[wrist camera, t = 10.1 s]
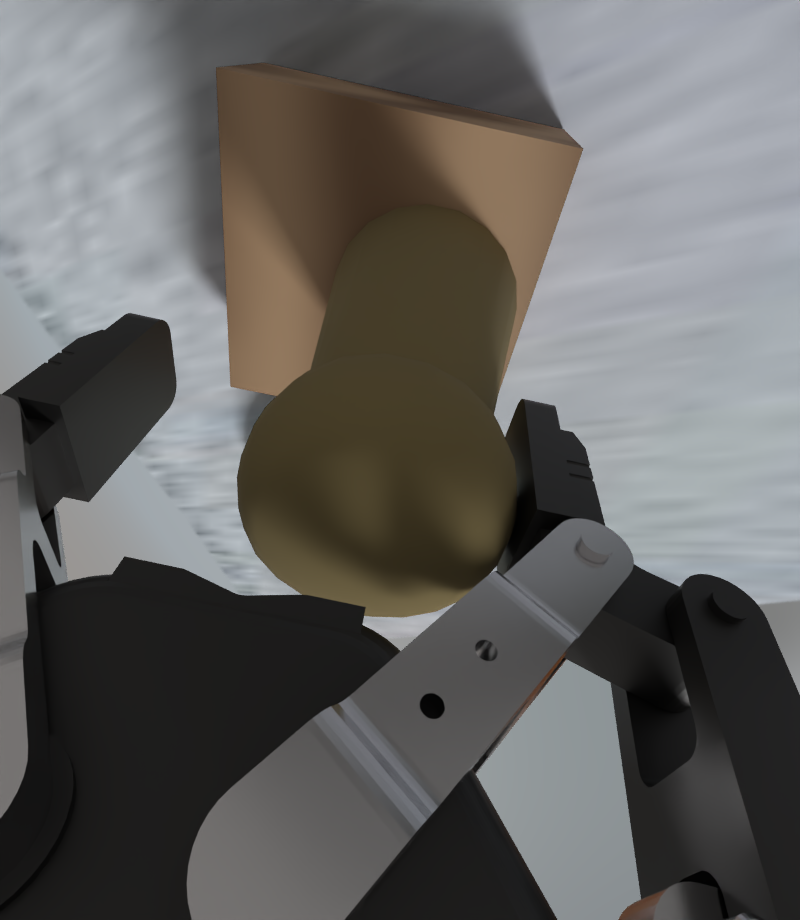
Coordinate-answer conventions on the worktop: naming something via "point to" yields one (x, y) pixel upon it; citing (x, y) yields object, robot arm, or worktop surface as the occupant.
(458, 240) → the olive stamp handle
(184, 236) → the worktop surface
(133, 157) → the worktop surface
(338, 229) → the walnut plinth
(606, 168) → the worktop surface
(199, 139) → the worktop surface
